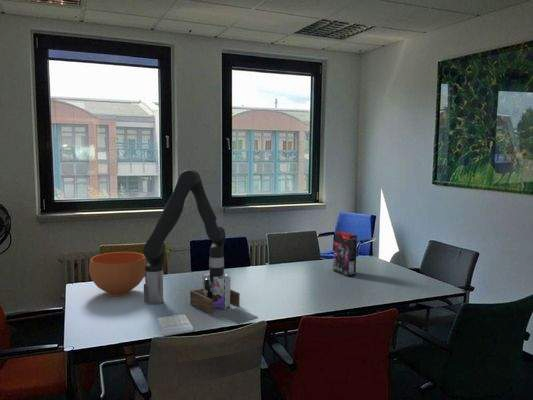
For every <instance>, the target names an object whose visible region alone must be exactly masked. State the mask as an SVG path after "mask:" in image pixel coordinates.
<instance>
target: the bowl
mask: <svg viewBox="0 0 533 400" xmlns="http://www.w3.org/2000/svg"><path fill="white" fill-rule="evenodd" d="M146 262H147V258H146V257H145V256H144V254H143V253H140V252H139V253H138V252H135V251H115V252H107V253H102V254H97V255H95V256H92V257H91V258H90V259H89V263H88V264H89V266H88V271H89V273H88V274H89V276H90V278H91V281H92V282H93V283H94V284H95V286H96V287H97V288H98V289H100V290H102V291H103V292H105V293H107V294H108V296H109V297H115V298H116V297H117V298H118V297H123V296H127V295H129V294H130V292H131V291H132V290H133V289H135V288H136V287H138V286H139V285H140V284H141V282H142V281H143V279H145V265H146Z"/></svg>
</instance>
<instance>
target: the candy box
mask: <svg viewBox="0 0 533 400" xmlns="http://www.w3.org/2000/svg"><path fill="white" fill-rule="evenodd" d="M226 275H227V274H226ZM226 275H225V274H223V275H221V276H214V278H213V283H214V288H213V289H212V298H210V299H212V308H216V309H221V310H227V309H228V308H230V307H231V303H230V289H231V275H228V276H226ZM209 277H210V274H209V272H206V273H204V274H203V275H202V288H203V296H205V297H207V298H209V297H208V291H207V290H205V286H204V279H205V278H206V279H208V278H209ZM213 283H212V282H211V281H209V285H210V284H211V285H213ZM210 288H211V286H210Z"/></svg>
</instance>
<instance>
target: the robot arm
mask: <svg viewBox="0 0 533 400" xmlns="http://www.w3.org/2000/svg"><path fill="white" fill-rule="evenodd" d="M190 192H191V193H192V195H193V197H194V199H195V204H196V207H197V210H198V214H199V216H200V218H201V220H202V222H203V225H204V229H205V232H206V236H207V237H208V239H209V240H210V241H211V242H212V243H211V246H210V247H209V261H208V263H209V264H208V265H209V266H208V267H209V268H208V269H209V271H208V273H209V274H210V277H209V278H208V279H206V278H205V279H204V286H205V290H207V291H208V297H209V298H212V289H213V288H214V283H213V278H214V276H221V275H226V276H229V275H228V274H225V259H224V258H225V257H224V247H225V246H224V245H225V242H226V231H225V228H223V226H220V225H219V226H218V224H217V216H216V214H215V212H214V209H213V207H212V206H211V204H210V201H209V199H208V197H207V194H206V192H205V189H204V185H203V182H202V178H201V176H200V174H199V172H198V171H196V170H193V169H185V170H183V171H182V172H181V173H180V174H179V177H178V179H177V182H176V184H175V187H174V189H173V191H172V193H171V196H170V197H169V198H168V200H167V202H166V204H165V206H164V208H162V209H163V210H162V211H161V213H160V216H159V218H158V221H157V222H156V224H155V227H154V230H153V231H152V232H151V235H150V236H149V238H148V239H147V241H146V242H145V243H144V245H143V248H142V254H143V255H144V256H145V257H146V265H145V276H144V279H145V281H144V284H143V302H144V303H146V304H148V305H156V304H157V305H158V304H162V303H163V302H164V264H165V246H164V242H165V241H166V238H168V235H169V234H170V233H171V231H172V230H173V229H174V228H175V226H176V224H177V223H178V221H179V219H180V218H181V215H182V213H183V209H184V206H185V203H186V198H187V196H188V195H189V193H190ZM209 281H211V282H212V283H213V285H211V284H210V285H209ZM210 286H211V288H210Z"/></svg>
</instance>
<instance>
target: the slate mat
mask: <svg viewBox="0 0 533 400" xmlns="http://www.w3.org/2000/svg"><path fill="white" fill-rule="evenodd" d="M217 314H218V315H220V316H222V317H224V318H227V319H228V320H230V321H233V322H234V323H236V324H241V323H244V322H249V321H251V320H254V319H258V315H257V316H256V315H254V314H252V313H250V312H247V311H245V310H244V309H243V310H242V309H241V308H239V307H234V308H229V309H225V310H222V311H219V312H217Z"/></svg>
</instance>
